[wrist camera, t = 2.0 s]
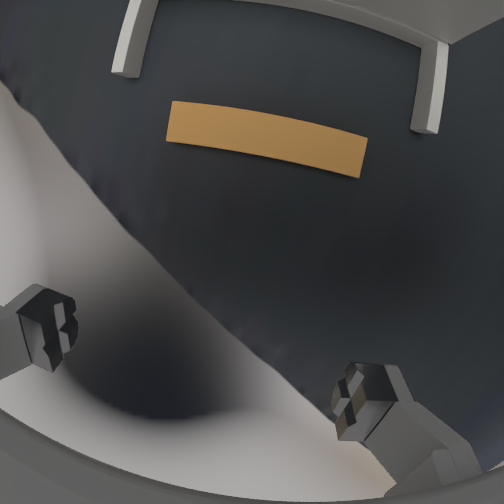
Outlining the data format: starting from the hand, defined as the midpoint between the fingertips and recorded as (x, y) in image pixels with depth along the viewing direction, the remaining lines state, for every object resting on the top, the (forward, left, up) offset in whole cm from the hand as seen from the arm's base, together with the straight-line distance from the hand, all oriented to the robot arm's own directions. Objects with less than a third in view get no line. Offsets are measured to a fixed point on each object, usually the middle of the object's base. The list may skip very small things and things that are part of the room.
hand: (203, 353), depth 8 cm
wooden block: (0, -6, -17) cm, 18 cm away
